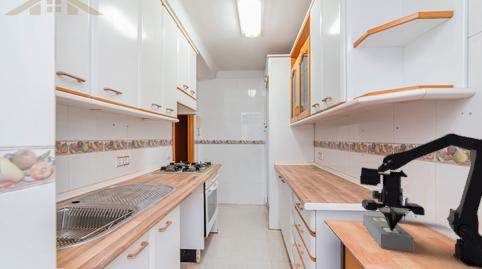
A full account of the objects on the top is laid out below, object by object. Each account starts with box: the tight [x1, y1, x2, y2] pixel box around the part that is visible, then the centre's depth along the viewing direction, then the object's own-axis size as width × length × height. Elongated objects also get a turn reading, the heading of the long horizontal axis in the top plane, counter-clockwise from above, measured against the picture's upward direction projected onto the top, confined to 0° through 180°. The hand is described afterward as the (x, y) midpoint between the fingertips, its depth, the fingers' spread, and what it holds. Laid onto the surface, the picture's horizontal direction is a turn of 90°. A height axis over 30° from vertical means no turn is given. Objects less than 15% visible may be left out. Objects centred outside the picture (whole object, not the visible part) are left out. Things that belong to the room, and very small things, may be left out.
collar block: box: [362, 214, 415, 253], centre depth 88 cm, size 10×22×5 cm, turn 166°
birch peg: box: [373, 217, 387, 222], centre depth 94 cm, size 4×4×5 cm
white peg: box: [383, 228, 399, 233], centre depth 83 cm, size 4×4×5 cm
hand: (391, 230), depth 83 cm, fingers closed, pressing on white peg
